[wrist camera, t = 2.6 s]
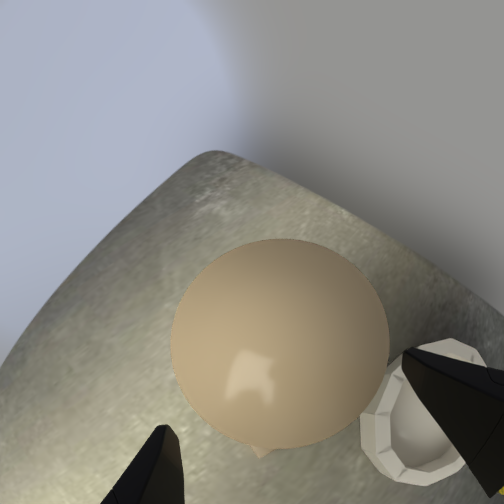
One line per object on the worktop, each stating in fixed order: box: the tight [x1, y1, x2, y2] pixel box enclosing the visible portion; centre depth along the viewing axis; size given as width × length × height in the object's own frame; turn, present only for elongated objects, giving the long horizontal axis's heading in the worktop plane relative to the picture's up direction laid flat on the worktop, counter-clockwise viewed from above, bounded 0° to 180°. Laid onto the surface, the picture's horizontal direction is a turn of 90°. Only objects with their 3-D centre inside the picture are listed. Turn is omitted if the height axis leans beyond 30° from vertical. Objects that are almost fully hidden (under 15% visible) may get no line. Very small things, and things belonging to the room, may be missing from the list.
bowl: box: [360, 338, 487, 486], centre depth 13 cm, size 10×10×3 cm
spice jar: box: [171, 239, 390, 449], centre depth 12 cm, size 5×5×12 cm
